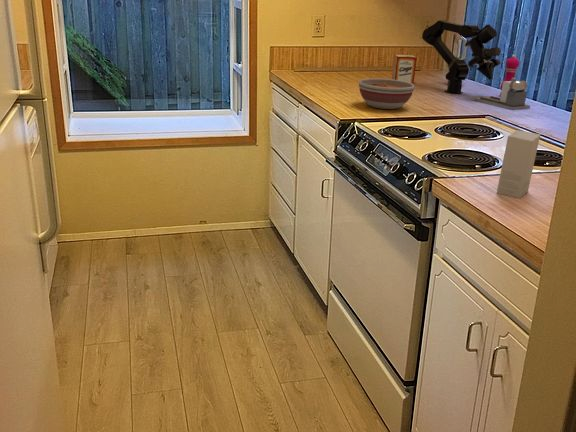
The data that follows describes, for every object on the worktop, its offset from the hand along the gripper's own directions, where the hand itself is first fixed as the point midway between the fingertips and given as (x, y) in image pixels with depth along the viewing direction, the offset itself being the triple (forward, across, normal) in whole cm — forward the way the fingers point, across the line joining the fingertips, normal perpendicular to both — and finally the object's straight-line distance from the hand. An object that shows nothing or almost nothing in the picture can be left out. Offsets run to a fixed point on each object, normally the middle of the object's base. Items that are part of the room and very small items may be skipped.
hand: (491, 79), depth 283 cm
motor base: (+13, -1, -1) cm, 13 cm away
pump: (+14, -1, -3) cm, 14 cm away
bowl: (+4, -55, +22) cm, 59 cm away
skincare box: (+67, -111, -45) cm, 137 cm away
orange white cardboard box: (-17, -11, +39) cm, 44 cm away
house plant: (-16, +24, +31) cm, 42 cm away
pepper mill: (+5, +20, +6) cm, 21 cm away
